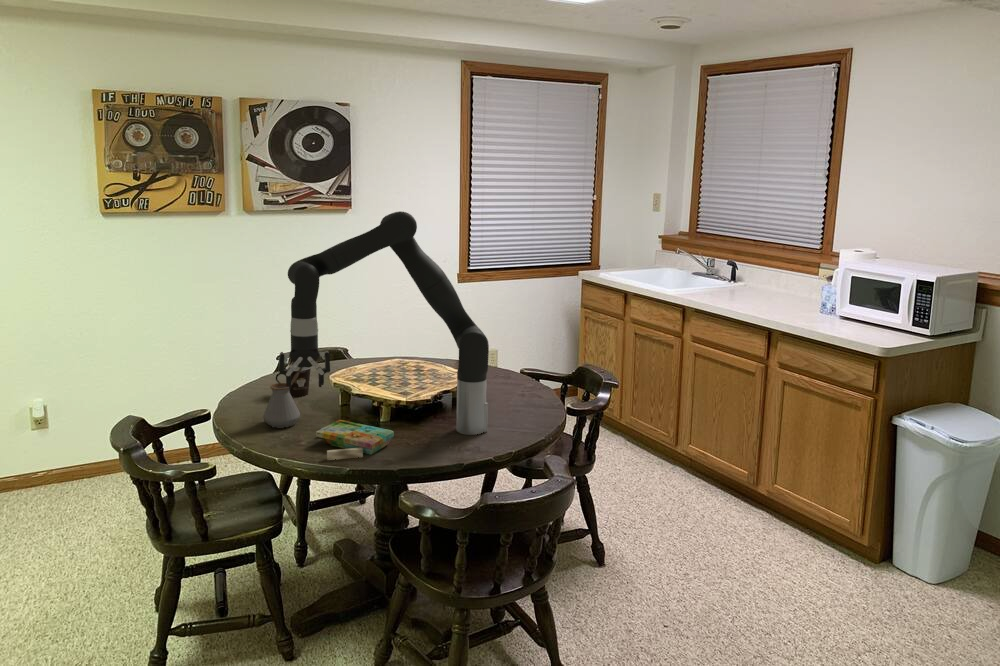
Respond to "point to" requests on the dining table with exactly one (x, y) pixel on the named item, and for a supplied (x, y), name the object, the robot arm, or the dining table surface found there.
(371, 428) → the puzzle game
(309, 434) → the dining table surface
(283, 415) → the coffee pot
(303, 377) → the coffee mug
